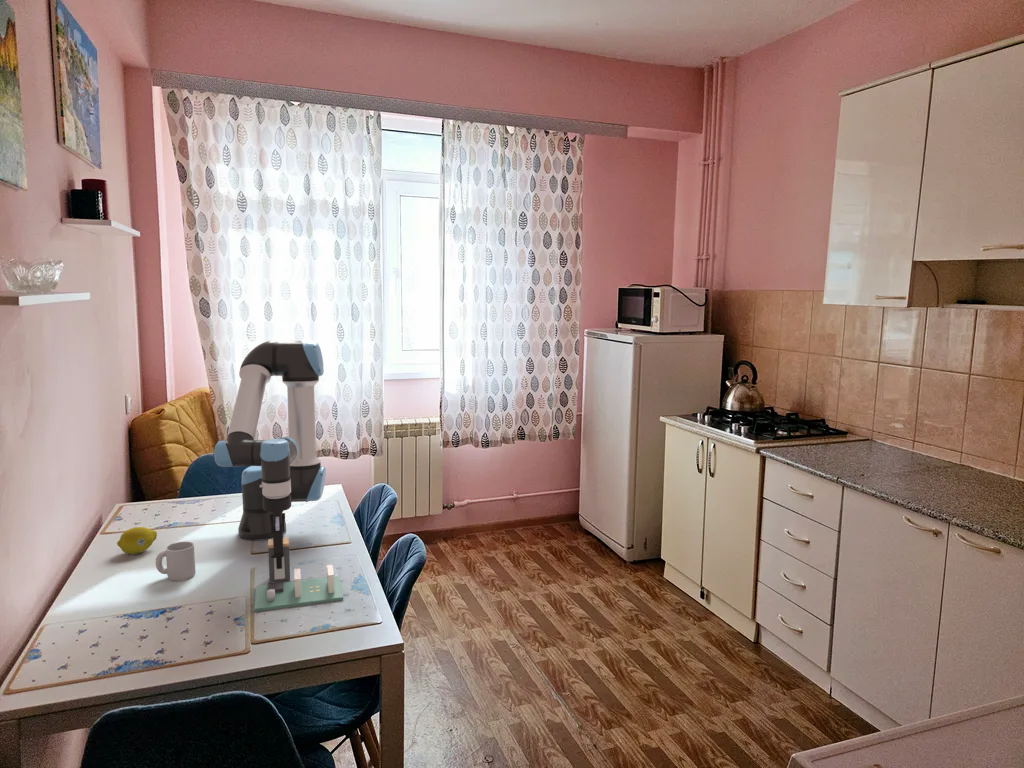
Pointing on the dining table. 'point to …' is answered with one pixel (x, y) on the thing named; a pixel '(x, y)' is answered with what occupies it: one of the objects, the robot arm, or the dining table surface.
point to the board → (299, 592)
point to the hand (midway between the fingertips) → (279, 574)
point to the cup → (178, 561)
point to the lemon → (136, 540)
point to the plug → (286, 561)
